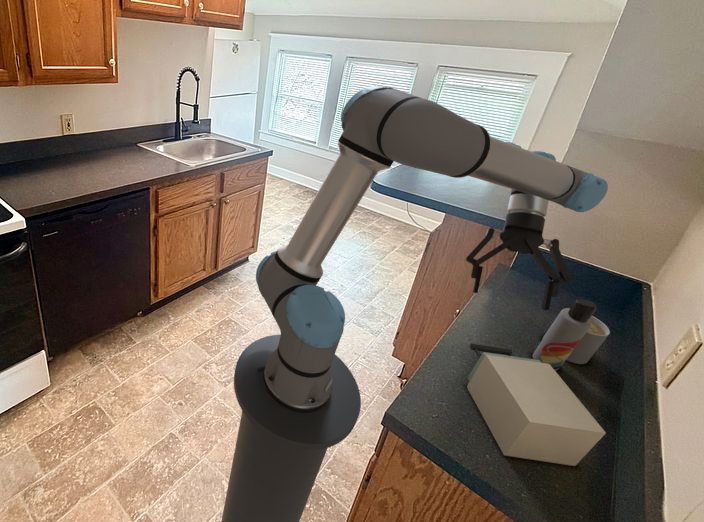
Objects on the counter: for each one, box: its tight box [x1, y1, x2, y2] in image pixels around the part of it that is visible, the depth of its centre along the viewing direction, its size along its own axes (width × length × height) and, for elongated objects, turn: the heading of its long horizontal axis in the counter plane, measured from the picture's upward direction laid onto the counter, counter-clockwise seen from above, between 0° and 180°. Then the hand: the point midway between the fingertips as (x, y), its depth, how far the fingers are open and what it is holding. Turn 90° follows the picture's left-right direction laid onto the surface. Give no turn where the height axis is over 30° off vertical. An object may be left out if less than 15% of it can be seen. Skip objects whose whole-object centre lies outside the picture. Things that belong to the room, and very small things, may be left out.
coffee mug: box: [542, 307, 611, 365], centre depth 101 cm, size 13×10×10 cm
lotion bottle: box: [532, 298, 598, 372], centre depth 92 cm, size 6×6×20 cm
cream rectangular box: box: [466, 355, 607, 467], centre depth 78 cm, size 16×14×11 cm
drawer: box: [467, 342, 541, 383], centre depth 83 cm, size 21×12×9 cm, turn 175°
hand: (508, 300), depth 90 cm, fingers open, 13 cm apart
